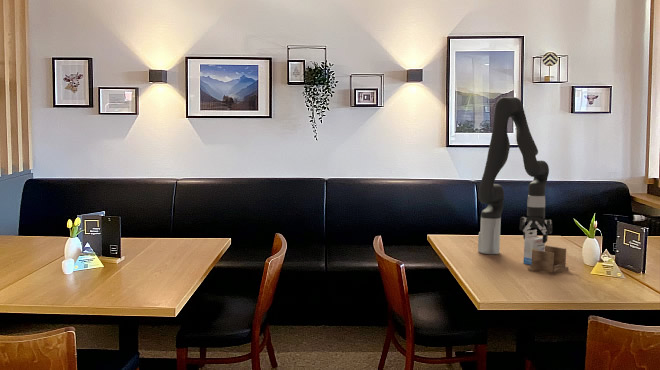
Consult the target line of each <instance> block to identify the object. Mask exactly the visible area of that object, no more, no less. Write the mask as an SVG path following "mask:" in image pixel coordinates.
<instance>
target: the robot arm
mask: <svg viewBox="0 0 660 370" xmlns="http://www.w3.org/2000/svg"><path fill="white" fill-rule="evenodd" d="M510 118H511V120H512V121H513V123H514V125H515V130H516V131H515V132H516V133H515V134H516V135H515V137H516V144H517V147H518V149H519V151H520V153H521V155H522V161H523V167H524V169H525V172H526V173H527V175H529V177H532V178H533V179H532V181H531V182H530V183H529V184H528V195H527V206H526V216H527V217H525V216H522V217H519V230H520V231H522V232H523V239H524V241H525V231H529V230H531V229H535V230H536V229H538V230H539V231H540V232H541V233H542V237H543V243H545V244H546V243H547V242H548V235H551V234H552V233H553V220H552V219H546V184H547V182H548V177H549V174H550V168H549V164H548V162H546V161H545V160H537V157H536V156H537V155H538V153H539V150H538V147H537V144H536V143H535V141H534V138H533V136H532V134H531V131H530V128H529V123H528V121H527V116H526V113H525V110H524V106H523V103H522V101H521V99H520V98H519V97H517V96H516V97H515V96H502V97H500V98H498V99H497V101H496V104H495V107H494V116H493V126H492V130H491V131H492V132H491V137H490V143H489V145H488V146H489V147H488V151H487V159H486V162H485V166H484V171H483V175H482V177H481V180H480V184H479V186H478V193H477V196H478V200H479V202H480V203H481V204H484V205H487V206H486V207H485V208H484V209H482V210H481V212H480V231H479V232H478V236H477V237H478V241H477V242H478V243H477V253H478V252H479V253H481V254H484V255H485V254H486V255H498V254H500V249H501V248H500V247H501V246H500V245H501V244H500V242H501V225H502V224H501V221H502V220H501V219H502V213H503V210H504V200H505V195H504V194H505V191H504V188H503V186H502V185H501V184H499V183H495V182H496V178H497V176H498V174H499V172H501V170H502V169H503V167H504V166H505V165H506V163H507V161H508V158H509V153H510V147H511V144H510V139H509V135H508V130H507V129H508V122H509V119H510ZM526 222H527V225H525V224H526ZM545 225H546V226H545Z"/></svg>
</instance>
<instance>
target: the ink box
mask: <svg viewBox="0 0 660 370" xmlns="http://www.w3.org/2000/svg"><path fill="white" fill-rule="evenodd" d="M537 231H538V230H537V229H536V228H535V229H529V230H528V231H525V240H524V242H523V244H524V246H523V261H522V262H523V264H525V265H530V266H532V250H539V251H545V246H546V243H543V236H537V234H538V232H537Z"/></svg>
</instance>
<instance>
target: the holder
mask: <svg viewBox="0 0 660 370" xmlns="http://www.w3.org/2000/svg"><path fill="white" fill-rule="evenodd" d="M566 262H567V248H564V247H558V246H552V245H546V244H545V251H539V250H532V265H530V266H531V267H529V268H527V270H528V272H535V273H539V274H544V275H549V276H555V275H558V274H560V273H563V272H565V271H568V270H569V266H567V265H566Z"/></svg>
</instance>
